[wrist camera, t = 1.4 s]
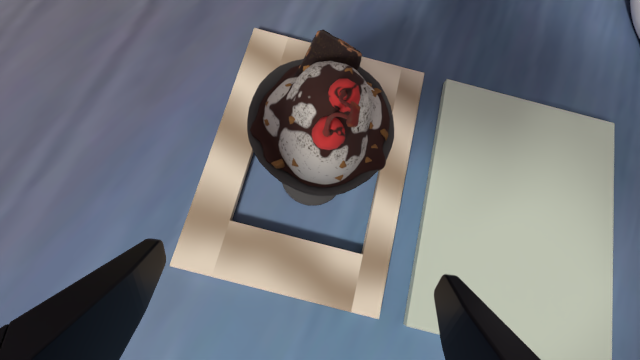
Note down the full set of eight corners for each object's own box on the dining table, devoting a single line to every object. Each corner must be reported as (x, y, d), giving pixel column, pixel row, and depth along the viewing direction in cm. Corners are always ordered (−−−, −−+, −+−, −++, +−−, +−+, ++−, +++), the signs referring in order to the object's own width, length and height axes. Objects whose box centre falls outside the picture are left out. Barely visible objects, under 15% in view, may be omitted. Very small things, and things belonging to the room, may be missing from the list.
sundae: (316, 235, 22) (349, 217, 7) (252, 176, 22) (164, 48, 8) (371, 173, 23) (495, 52, 9) (310, 119, 24) (327, -80, 9)
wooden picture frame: (376, 317, 21) (378, 319, 20) (173, 265, 21) (169, 265, 20) (421, 77, 25) (424, 73, 25) (255, 33, 25) (254, 27, 25)
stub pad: (602, 374, 21) (611, 378, 20) (403, 323, 21) (406, 326, 20) (607, 126, 26) (614, 123, 25) (443, 82, 25) (446, 78, 25)
